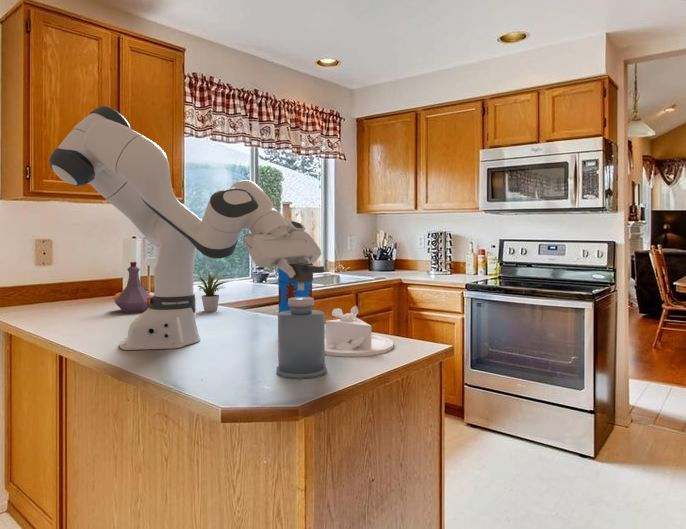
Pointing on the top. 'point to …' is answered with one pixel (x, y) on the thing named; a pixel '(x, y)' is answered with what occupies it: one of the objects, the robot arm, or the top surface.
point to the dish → (353, 336)
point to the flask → (133, 293)
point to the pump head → (305, 273)
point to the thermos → (290, 290)
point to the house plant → (210, 293)
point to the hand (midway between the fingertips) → (302, 275)
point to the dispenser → (301, 340)
